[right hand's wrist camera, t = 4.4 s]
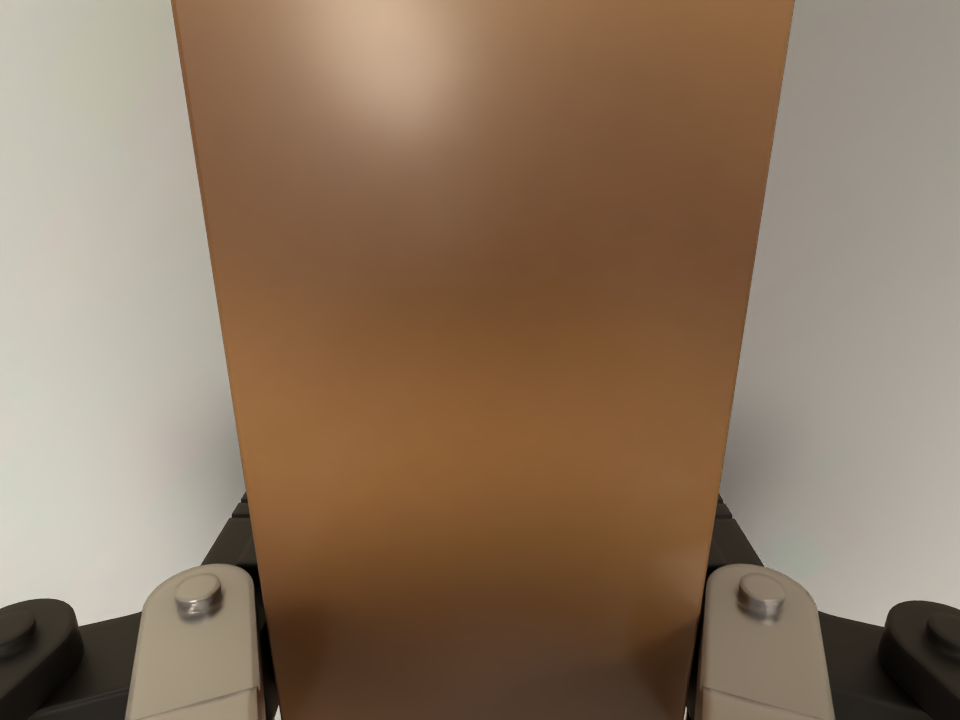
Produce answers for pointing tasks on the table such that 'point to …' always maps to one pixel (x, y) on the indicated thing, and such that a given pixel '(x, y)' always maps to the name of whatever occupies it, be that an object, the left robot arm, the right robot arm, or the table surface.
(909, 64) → the table surface
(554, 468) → the beam
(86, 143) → the table surface
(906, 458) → the table surface
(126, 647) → the right robot arm
